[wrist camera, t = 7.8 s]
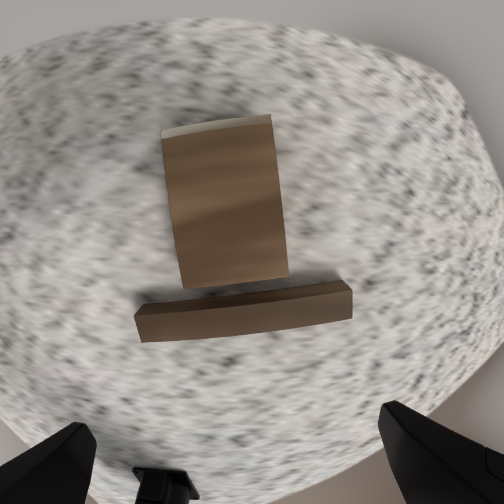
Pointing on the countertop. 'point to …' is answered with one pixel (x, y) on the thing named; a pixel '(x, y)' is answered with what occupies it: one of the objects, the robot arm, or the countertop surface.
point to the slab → (225, 201)
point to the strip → (245, 313)
